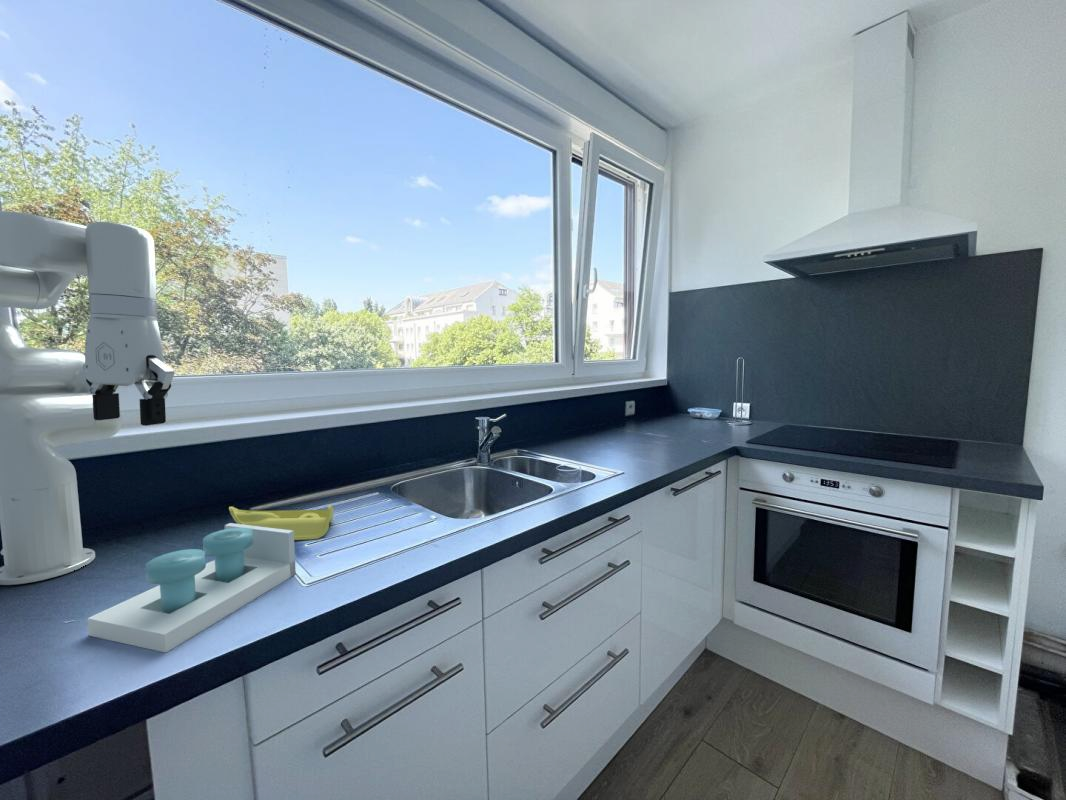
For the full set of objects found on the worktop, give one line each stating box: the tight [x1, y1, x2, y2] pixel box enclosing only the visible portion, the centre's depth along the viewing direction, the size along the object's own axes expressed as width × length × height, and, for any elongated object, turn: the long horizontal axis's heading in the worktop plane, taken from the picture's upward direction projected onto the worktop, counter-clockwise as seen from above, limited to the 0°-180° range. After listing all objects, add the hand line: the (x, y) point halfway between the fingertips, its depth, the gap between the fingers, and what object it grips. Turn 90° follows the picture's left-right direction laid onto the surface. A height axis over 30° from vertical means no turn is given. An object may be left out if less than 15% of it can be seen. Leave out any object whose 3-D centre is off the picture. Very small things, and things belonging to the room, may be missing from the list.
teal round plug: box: [144, 548, 207, 614], centre depth 65 cm, size 7×7×9 cm
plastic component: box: [228, 504, 335, 541], centre depth 97 cm, size 20×7×10 cm
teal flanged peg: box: [202, 527, 253, 583], centre depth 74 cm, size 7×7×9 cm
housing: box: [86, 522, 297, 654], centre depth 70 cm, size 14×22×8 cm, turn 166°
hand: (129, 421), depth 69 cm, fingers open, 9 cm apart
